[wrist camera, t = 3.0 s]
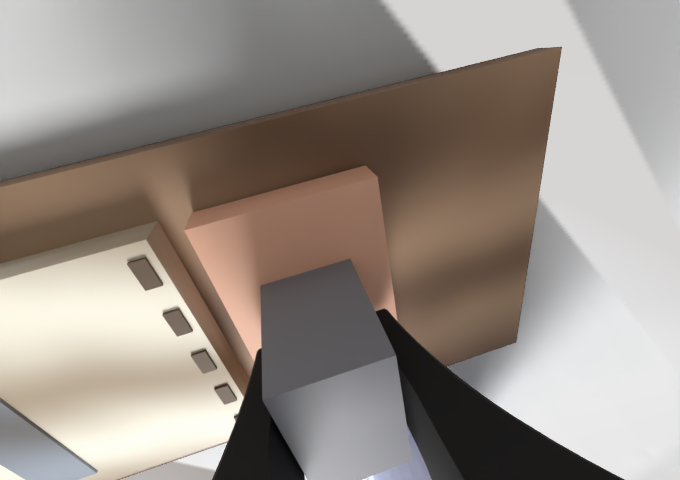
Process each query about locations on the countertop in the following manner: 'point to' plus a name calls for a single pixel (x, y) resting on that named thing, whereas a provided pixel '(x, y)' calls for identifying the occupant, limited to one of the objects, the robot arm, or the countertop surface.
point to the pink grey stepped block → (314, 316)
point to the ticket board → (200, 294)
